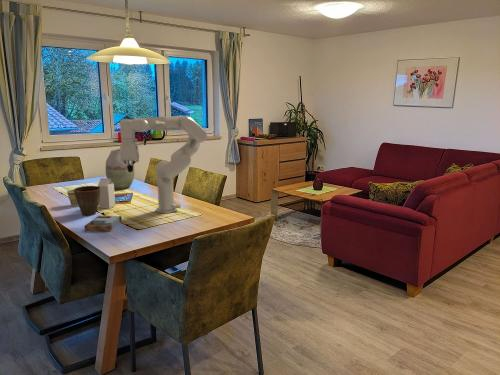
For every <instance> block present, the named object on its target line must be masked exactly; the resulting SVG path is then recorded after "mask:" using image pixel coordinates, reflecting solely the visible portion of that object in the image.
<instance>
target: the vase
mask: <svg viewBox="0 0 500 375" xmlns="http://www.w3.org/2000/svg"><path fill="white" fill-rule="evenodd" d="M129 162H130V164H131V161H129ZM105 175H106V176H105V177H106V178H108V179H111V181H112V182H113V183H114V190H117V191H119V190H128V189H130V187H131V186H132V185H133V182H134V179H135V164H134V165H133V172H129V171H128V168H127V165H126V164H125V163H123V162H121V159H120V148H114V149H111V150H110V153H109V155H108V157H107V158H106V161H105Z"/></svg>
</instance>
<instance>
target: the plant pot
mask: <svg viewBox="0 0 500 375" xmlns="http://www.w3.org/2000/svg"><path fill="white" fill-rule="evenodd" d="M73 190H74V193H75V197H76V200H77V203H78V206H79V207H78V208H79V210H80V212H81V213H82V216H87V217H88V216H94V215H96V213H97V210H98V207H99V198H100V187H98V185H84V186H79V187H76V188H75V187H74V189H73Z"/></svg>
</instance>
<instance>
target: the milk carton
mask: <svg viewBox="0 0 500 375" xmlns="http://www.w3.org/2000/svg"><path fill="white" fill-rule="evenodd" d="M97 186H98V187H100V198H99V204H98V207H99V208H100V209H111V208H113V207H116V197H115V195H116V194H115V189H114V183H113V182H112V181H111V179H108V178H107V177H105V178H104V177H103V178H102V177H100V180H99V182H98V184H97Z"/></svg>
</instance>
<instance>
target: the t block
mask: <svg viewBox="0 0 500 375" xmlns="http://www.w3.org/2000/svg"><path fill="white" fill-rule="evenodd" d="M111 216H112V217H111V218H96V217H94V218H93V219H94V220H93V219H92V220H93V225H111V231H112V230H114V229H115V228H116V227H117V226H118V225H120V223H121V222H120V219H119V216H120V215H111Z"/></svg>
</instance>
